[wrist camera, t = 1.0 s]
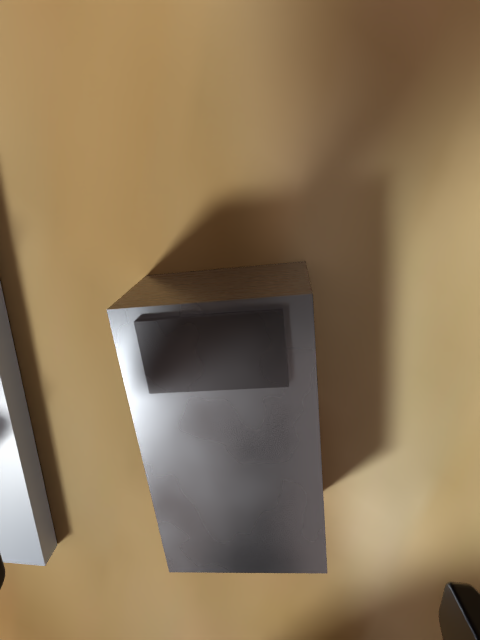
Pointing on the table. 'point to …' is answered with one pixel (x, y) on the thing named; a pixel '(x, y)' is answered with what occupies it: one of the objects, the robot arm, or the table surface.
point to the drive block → (227, 415)
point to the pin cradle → (20, 467)
